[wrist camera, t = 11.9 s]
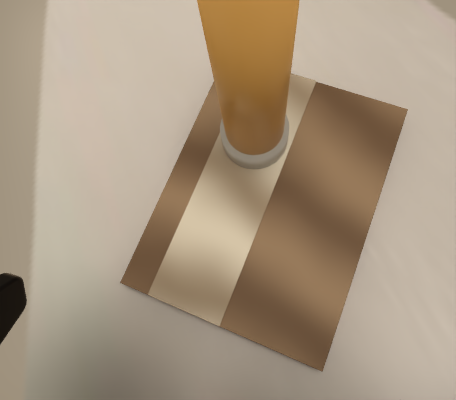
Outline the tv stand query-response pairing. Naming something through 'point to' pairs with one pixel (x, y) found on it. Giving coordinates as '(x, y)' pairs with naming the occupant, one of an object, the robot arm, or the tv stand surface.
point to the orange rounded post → (251, 74)
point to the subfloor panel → (271, 222)
